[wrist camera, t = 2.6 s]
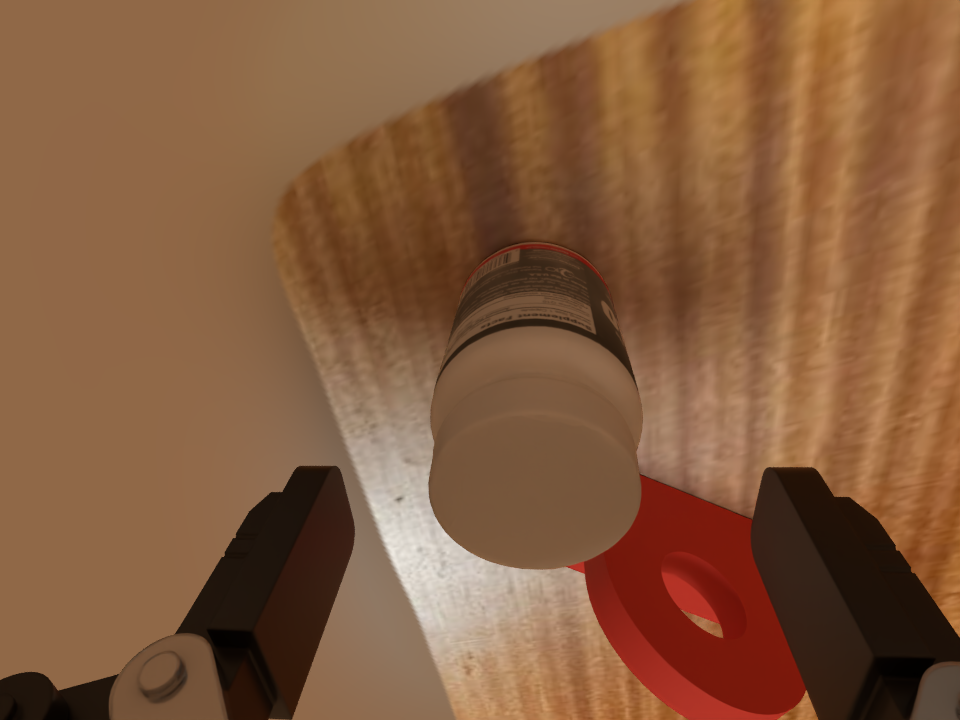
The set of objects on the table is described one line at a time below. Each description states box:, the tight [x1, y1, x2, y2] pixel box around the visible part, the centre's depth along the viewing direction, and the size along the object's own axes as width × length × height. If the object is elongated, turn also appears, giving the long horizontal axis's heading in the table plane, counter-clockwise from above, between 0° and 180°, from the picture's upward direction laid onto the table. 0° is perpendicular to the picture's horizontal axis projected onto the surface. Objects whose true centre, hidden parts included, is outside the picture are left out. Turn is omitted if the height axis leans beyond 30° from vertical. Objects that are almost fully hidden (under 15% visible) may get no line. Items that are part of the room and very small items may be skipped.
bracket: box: [566, 475, 806, 720], centre depth 19 cm, size 12×4×8 cm, turn 66°
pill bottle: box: [429, 242, 643, 570], centre depth 14 cm, size 5×5×8 cm
